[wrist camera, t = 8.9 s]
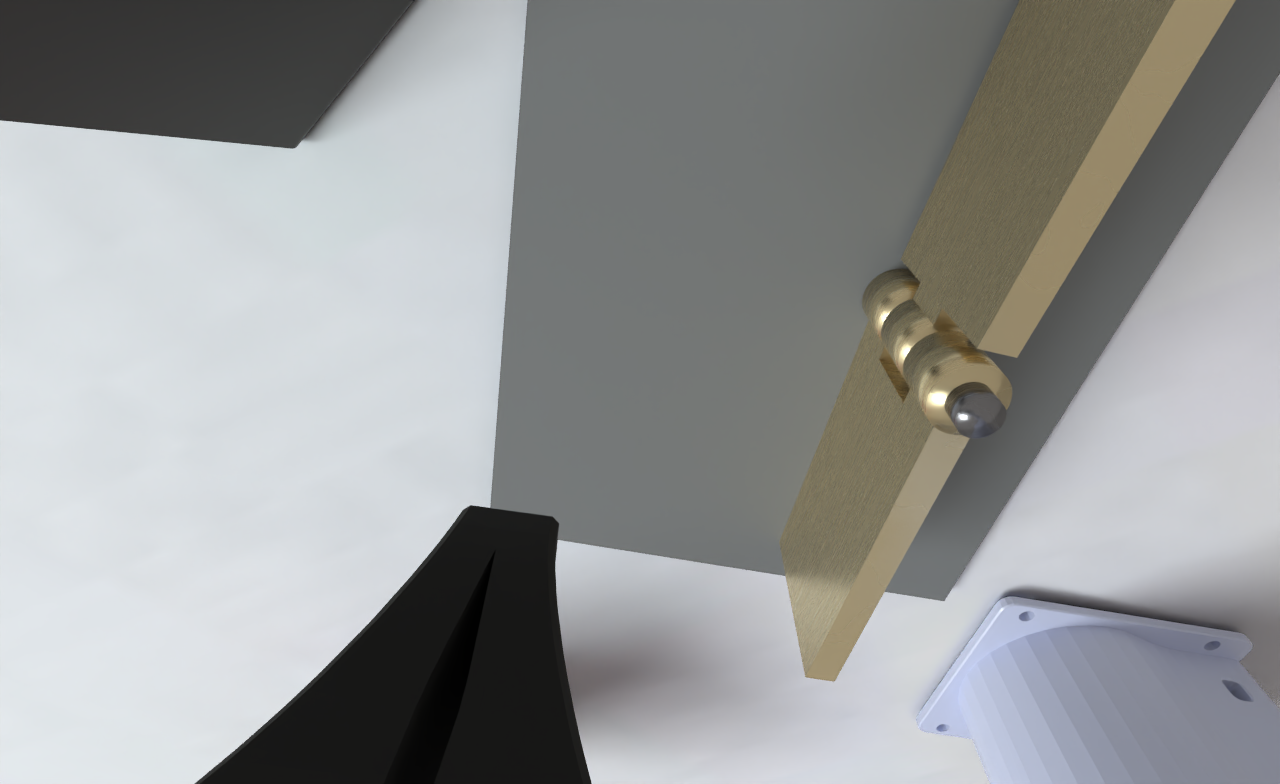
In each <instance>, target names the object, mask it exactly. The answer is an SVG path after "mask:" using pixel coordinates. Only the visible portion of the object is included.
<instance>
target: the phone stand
mask: <svg viewBox="0 0 1280 784" xmlns="http://www.w3.org/2000/svg"><path fill="white" fill-rule="evenodd" d="M413 1H414V0H0V120H3V121H13V122H24V123H34V124H44V125H55V126H65V127H75V128H86V129H96V130H107V131H117V132H127V133H138V134H148V135H158V136H169V137H179V138H189V139H200V140H210V141H220V142H231V143H241V144H251V145H262V146H272V147H283V148H296V147H297V146H298V144H299V143H300V142H301V141H302V139H303V138H304V137H305V136H306V134H307V133H308V132H309V131H310V129H311V128H312V127H313V126H314V124H315V123H316V122H317V121H318V119H319V118H320V117H321V116H322V114H323V113H324V112H325V111H326V110H327V108H328V107H329V106H330V105H331V103H332V102H333V101H334V100H335V98H336V97H337V96H338V95H339V93H340V92H341V91H342V90H343V88H344V87H345V86H346V85H347V83H348V82H349V81H350V80H351V78H352V77H353V76H354V75H355V73H356V72H357V71H358V70H359V68H360V67H361V66H362V65H363V63H364V62H365V61H366V60H367V58H368V57H369V56H370V55H371V53H372V52H373V51H374V50H375V48H376V47H377V46H378V45H379V43H380V42H381V41H382V40H383V38H384V37H385V36H386V35H387V33H388V32H389V31H390V30H391V28H392V27H393V26H394V25H395V23H396V22H397V21H398V20H399V18H400V17H401V16H402V15H403V13H404V12H405V11H406V10H407V8H408V7H409V6H410V5H411V3H412V2H413Z"/></svg>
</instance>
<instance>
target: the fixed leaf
mask: <svg viewBox="0 0 1280 784" xmlns="http://www.w3.org/2000/svg"><path fill="white" fill-rule="evenodd" d="M920 283H921V282H920V281H919V280H918V279H917V278H916V277H915V275H914V274H913V273H912V272H911V271H910V270H906V269H893V270H889V271H886V272H884V273H882V274H880V275H878V276H877V277H876V278H874V279H873V280H872V281H871V282H870V283H869V285H868V286H867V288H866V289H865V292H864V294H863V298H862V307H863V311H864V313H865V315H866V316H867V318H868V320H869V321H868V323H867V326H866V328H865V331H864V333H863V336H862V338H861V341H860V343H859V346H858V348H857V351H856V353H855V356H854V358H853V361H852V363H851V365H850V368H849V370H848V373H847V375H846V378H845V380H844V383H843V385H842V388H841V390H840V393H839V395H838V398H837V400H836V403H835V405H834V407H833V410H832V412H831V415H830V417H829V420H828V422H827V425H826V427H825V430H824V432H823V435H822V437H821V440H820V442H819V445H818V447H817V449H816V452H815V454H814V457H813V459H812V462H811V464H810V467H809V469H808V472H807V474H806V477H805V479H804V482H803V484H802V487H801V489H800V491H799V494H798V496H797V499H796V501H795V504H794V506H793V509H792V511H791V514H790V516H789V519H788V521H787V524H786V526H785V529H784V531H783V533H782V536H781V538H780V541H779V544H780V549H781V554H782V559H783V565H784V570H785V575H786V580H787V585H788V590H789V595H790V600H791V606H792V611H793V616H794V621H795V626H796V631H797V636H798V641H799V647H800V652H801V657H802V662H803V667H804V672H805V677H807V678H814V679H821V680H827V681H835V680H836V678H837V676H838V674H839V672H840V671H841V669H842V667H843V665H844V663H845V662H846V660H847V658H848V656H849V654H850V653H851V651H852V649H853V647H854V645H855V644H856V642H857V640H858V638H859V636H860V635H861V633H862V631H863V629H864V627H865V626H866V624H867V622H868V620H869V618H870V617H871V615H872V613H873V611H874V609H875V608H876V606H877V604H878V602H879V600H880V599H881V597H882V595H883V593H884V592H885V590H886V588H887V586H888V584H889V583H890V581H891V579H892V577H893V575H894V574H895V572H896V570H897V568H898V566H899V565H900V563H901V561H902V559H903V557H904V556H905V554H906V552H907V550H908V548H909V547H910V545H911V543H912V541H913V539H914V538H915V536H916V534H917V532H918V530H919V529H920V527H921V525H922V523H923V521H924V520H925V518H926V516H927V514H928V512H929V511H930V509H931V507H932V505H933V503H934V502H935V500H936V498H937V496H938V494H939V493H940V491H941V489H942V487H943V485H944V484H945V482H946V480H947V478H948V476H949V475H950V473H951V471H952V469H953V467H954V466H955V464H956V462H957V460H958V458H959V457H960V455H961V453H962V451H963V449H964V448H965V446H966V444H967V442H968V440H969V439H970V438H973V439H977V438H983V437H987V436H989V435H991V434H993V433H995V432H996V431H997V430H999V429H1000V428H1001V426H1002V425H1003V424H1004V422H1005V420H1006V416H1007V412H1006V410H1007V409H1008V407H1009V405H1010V402H1011V399H1012V386H1011V384H1010V381H1009V380H1008V378H1007V377H1006V376H1005V375H1004V373H1003V372H1002V371H1001V370H1000V369H999V368H998V367H997V365H996V364H995V363H994V362H993V361H992V360H991V358H990V357H989V356H988V355H987V354H986V353H985V352H984V350H981V349H977V348H976V347H975V346H974V345H973V343H972V342H971V341H970V340H969V339H968V338H967V336H966V335H965V334H964V333H963V332H960V331H954V330H946V331H940V332H936V333H933V334H930V335H928V336H926V337H924V338H923V339H921V340H920V341H918V342H917V343H916V344H915V345H914V346H913V347H912V348H911V349H910V351H909V352H908V354H907V355H906V357H905V360H904V363H903V376H904V378H903V376H902V375H901V373H900V371H899V370H898V368H897V366H896V365H895V363H894V361H893V360H892V358H891V356H890V355H889V353H888V351H887V350H886V348H885V346H884V345H883V342H882V339H881V329H882V325H883V322H884V320H885V319H886V317H887V316H888V314H889V313H890V312H891V311H892V310H893V309H894V308H895V307H896V306H898V305H899V304H901V303H903V302H905V301H907V300H910V299H913V297H914V295H915V293H916V291H917V289H918V287H919V285H920Z"/></svg>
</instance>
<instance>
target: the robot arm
mask: <svg viewBox="0 0 1280 784" xmlns="http://www.w3.org/2000/svg"><path fill="white" fill-rule="evenodd" d="M558 531H559V523H558V522H557V521H556V519H555V518H554V517H553V516H546V515H538V514H531V513H524V512H516V511H509V510H501V509H494V508H486V507H479V506H472V505H471V506H469V507H467V508H466V509H464V510H463V511H462V512H461V514H460V515H459V517H458V518H457V519H456V521H455V522H454V523H453V525H452V526H451V527H450V529H449V530H448V531H447V533H446V534H445V535H444V537H443V538H442V539H441V541H440V542H439V543H438V544H437V546H436V547H435V548H434V549H433V551H432V552H431V553H430V554H429V555H428V557H427V558H426V559H425V560H424V561H423V563H422V564H421V565H420V566H419V567H418V569H417V570H416V571H415V572H414V573H413V575H412V576H411V577H410V578H409V579H408V580H407V582H406V583H405V584H404V585H403V586H402V587H401V588H400V589H399V590H398V592H397V593H396V594H395V595H394V596H393V597H392V598H391V599H390V601H389V602H388V603H387V604H386V605H385V606H384V607H383V608H382V610H381V611H380V612H379V613H378V614H377V615H376V616H375V617H374V618H373V619H372V620H371V622H370V623H369V624H368V625H367V626H366V627H365V628H364V629H363V630H362V631H361V632H360V633H359V634H358V635H357V636H356V637H355V638H354V639H353V640H352V641H351V642H350V643H349V644H348V645H347V646H346V647H345V648H344V649H343V650H342V651H341V652H340V653H339V654H338V655H337V656H336V657H335V658H334V659H333V660H332V661H331V662H330V663H329V664H328V665H327V666H326V667H325V668H324V669H323V670H322V671H321V672H320V673H319V674H318V675H317V676H316V677H315V678H314V679H313V680H312V681H311V682H310V683H309V684H308V685H307V686H306V687H305V688H304V689H303V690H302V691H301V692H300V693H298V694H297V695H296V696H295V697H294V698H293V699H292V700H291V701H290V702H289V703H288V704H287V705H286V706H284V707H283V708H282V709H281V710H280V711H279V712H278V713H277V714H276V715H275V716H273V717H272V718H271V719H270V720H269V721H268V722H267V723H266V724H264V725H263V726H262V727H261V728H260V729H259V730H258V731H257V732H255V733H254V734H253V735H252V736H251V737H250V738H249V739H248V740H246V741H245V742H244V743H243V744H242V745H241V746H239V747H238V748H237V749H236V750H235V751H234V752H232V753H231V754H230V755H229V756H228V757H226V758H225V759H224V760H223V761H222V762H220V763H219V764H218V765H217V766H216V767H214V768H213V769H212V770H211V771H209V772H208V773H207V774H206V775H205V776H203V777H202V778H201V779H200V780H199V781H197V782H196V783H195V784H591V780H590V776H589V772H588V768H587V764H586V760H585V757H584V753H583V748H582V744H581V740H580V736H579V731H578V727H577V722H576V718H575V713H574V708H573V703H572V698H571V693H570V688H569V683H568V678H567V672H566V666H565V660H564V654H563V647H562V639H561V631H560V624H559V616H558V607H557V596H556V577H555V560H556V550H557V540H558ZM1252 648H1253V643H1252V642H1251V641H1250V640H1249V639H1248V638H1247V637H1246V635H1245V634H1242V633H1238V632H1232V631H1226V630H1219V629H1213V628H1207V627H1201V626H1195V625H1188V624H1182V623H1176V622H1170V621H1163V620H1157V619H1151V618H1145V617H1138V616H1132V615H1126V614H1120V613H1114V612H1107V611H1101V610H1095V609H1089V608H1082V607H1076V606H1070V605H1064V604H1057V603H1051V602H1045V601H1039V600H1032V599H1026V598H1020V597H1005V598H1002V599H1000V600H999V601H998V602H997V603H996V604H995V605H994V607H993V608H992V610H991V611H990V612H989V614H988V615H987V617H986V618H985V620H984V621H983V622H982V624H981V625H980V627H979V628H978V630H977V631H976V632H975V634H974V635H973V637H972V638H971V640H970V641H969V642H968V644H967V645H966V647H965V648H964V650H963V651H962V652H961V654H960V655H959V657H958V658H957V660H956V661H955V662H954V664H953V665H952V667H951V668H950V670H949V671H948V672H947V674H946V675H945V677H944V678H943V680H942V681H941V682H940V684H939V685H938V687H937V688H936V690H935V691H934V692H933V694H932V695H931V697H930V698H929V700H928V701H927V702H926V704H925V705H924V707H923V708H922V710H921V711H920V712H919V714H918V715H917V717H916V721H917V724H918V727H919V729H920V730H922V731H924V732H928V733H934V734H941V735H948V736H955V737H962V738H969V739H972V740H973V743H974V745H975V748H976V750H977V753H978V755H979V757H980V760H981V762H982V765H983V767H984V770H985V772H986V775H987V777H988V780H989V782H990V784H1280V709H1279V708H1278V707H1277V706H1276V705H1275V703H1274V702H1273V701H1272V700H1271V699H1270V697H1269V696H1268V695H1267V694H1266V693H1265V692H1264V690H1263V689H1262V688H1261V687H1260V686H1259V684H1258V683H1257V682H1256V681H1255V680H1254V679H1253V677H1252V676H1251V675H1250V674H1249V673H1248V671H1247V670H1246V669H1245V668H1244V667H1243V666H1242V664H1241V663H1240V662H1239V661H1241V660H1242V659H1243V658H1244V657H1245V656H1246V655H1247V654H1248V653H1249V652H1250V651H1251V650H1252Z"/></svg>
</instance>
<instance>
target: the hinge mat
mask: <svg viewBox="0 0 1280 784" xmlns="http://www.w3.org/2000/svg"><path fill="white" fill-rule="evenodd" d="M1018 3H1019V0H528V3H527V16H526V30H525V44H524V57H523V71H522V84H521V98H520V112H519V125H518V139H517V153H516V166H515V180H514V194H513V207H512V221H511V234H510V248H509V262H508V275H507V289H506V303H505V316H504V330H503V343H502V357H501V371H500V384H499V398H498V412H497V425H496V439H495V452H494V466H493V480H492V493H491V507H490V508H494V509H501V510H509V511H516V512H524V513H531V514H538V515H546V516H553V517H554V518H555V519H556V521H557V522H558V523H559V531H558V540H563V541H569V542H575V543H582V544H588V545H594V546H601V547H607V548H613V549H619V550H626V551H632V552H638V553H645V554H651V555H657V556H664V557H670V558H676V559H682V560H689V561H695V562H701V563H708V564H714V565H720V566H726V567H733V568H739V569H745V570H752V571H758V572H764V573H770V574H777V575H783V576H786V575H785V570H784V565H783V559H782V554H781V549H780V544H779V541H780V538H781V536H782V533H783V531H784V529H785V526H786V524H787V521H788V519H789V516H790V514H791V511H792V509H793V506H794V504H795V501H796V499H797V496H798V494H799V491H800V489H801V487H802V484H803V482H804V479H805V477H806V474H807V472H808V469H809V467H810V464H811V462H812V459H813V457H814V454H815V452H816V449H817V447H818V445H819V442H820V440H821V437H822V435H823V432H824V430H825V427H826V425H827V422H828V420H829V417H830V415H831V412H832V410H833V407H834V405H835V403H836V400H837V398H838V395H839V393H840V390H841V388H842V385H843V383H844V380H845V378H846V375H847V373H848V370H849V368H850V365H851V363H852V361H853V358H854V356H855V353H856V351H857V348H858V346H859V343H860V341H861V338H862V336H863V333H864V331H865V328H866V326H867V323H868V321H869V320H868V318H867V316H866V315H865V313H864V311H863V307H862V298H863V294H864V292H865V289H866V288H867V286H868V285H869V283H870V282H871V281H872V280H873V279H874V278H876V277H877V276H878V275H880V274H882V273H884V272H886V271H889V270H893V269H906V270H909V268H908V267H907V266H906V265H905V264H904V263H903V261H902V260H901V258H902V255H903V253H904V251H905V249H906V247H907V245H908V242H909V240H910V238H911V236H912V234H913V231H914V229H915V227H916V225H917V223H918V221H919V218H920V216H921V214H922V212H923V210H924V208H925V205H926V203H927V201H928V199H929V197H930V194H931V192H932V190H933V188H934V186H935V184H936V181H937V179H938V177H939V175H940V173H941V170H942V168H943V166H944V164H945V162H946V160H947V157H948V155H949V153H950V151H951V149H952V146H953V144H954V142H955V140H956V138H957V136H958V133H959V131H960V129H961V127H962V125H963V123H964V120H965V118H966V116H967V114H968V112H969V109H970V107H971V105H972V103H973V101H974V99H975V96H976V94H977V92H978V90H979V88H980V85H981V83H982V81H983V79H984V77H985V75H986V72H987V70H988V68H989V66H990V64H991V61H992V59H993V57H994V55H995V53H996V51H997V48H998V46H999V44H1000V42H1001V40H1002V38H1003V35H1004V33H1005V31H1006V29H1007V27H1008V24H1009V22H1010V20H1011V18H1012V16H1013V14H1014V11H1015V9H1016V7H1017V5H1018ZM1279 73H1280V0H1236V1H1235V2H1234V4H1233V6H1232V7H1231V9H1230V10H1229V12H1228V14H1227V15H1226V17H1225V19H1224V20H1223V22H1222V24H1221V25H1220V27H1219V28H1218V30H1217V32H1216V33H1215V35H1214V37H1213V38H1212V40H1211V41H1210V43H1209V45H1208V46H1207V48H1206V50H1205V51H1204V53H1203V55H1202V56H1201V58H1200V59H1199V61H1198V63H1197V64H1196V66H1195V68H1194V69H1193V71H1192V73H1191V74H1190V76H1189V77H1188V79H1187V81H1186V82H1185V84H1184V86H1183V87H1182V89H1181V91H1180V92H1179V94H1178V95H1177V97H1176V99H1175V100H1174V102H1173V104H1172V105H1171V107H1170V109H1169V110H1168V112H1167V113H1166V115H1165V117H1164V118H1163V120H1162V122H1161V123H1160V125H1159V127H1158V128H1157V130H1156V131H1155V133H1154V135H1153V136H1152V138H1151V140H1150V141H1149V143H1148V145H1147V146H1146V148H1145V149H1144V151H1143V153H1142V154H1141V156H1140V158H1139V159H1138V161H1137V163H1136V164H1135V166H1134V167H1133V169H1132V171H1131V172H1130V174H1129V176H1128V177H1127V179H1126V181H1125V182H1124V184H1123V185H1122V187H1121V189H1120V190H1119V192H1118V194H1117V195H1116V197H1115V198H1114V200H1113V202H1112V203H1111V205H1110V207H1109V208H1108V210H1107V212H1106V213H1105V215H1104V216H1103V218H1102V220H1101V221H1100V223H1099V225H1098V226H1097V228H1096V230H1095V231H1094V233H1093V234H1092V236H1091V238H1090V239H1089V241H1088V243H1087V244H1086V246H1085V248H1084V249H1083V251H1082V252H1081V254H1080V256H1079V257H1078V259H1077V261H1076V262H1075V264H1074V266H1073V267H1072V269H1071V270H1070V272H1069V274H1068V275H1067V277H1066V279H1065V280H1064V282H1063V284H1062V285H1061V287H1060V288H1059V290H1058V292H1057V293H1056V295H1055V297H1054V298H1053V300H1052V302H1051V303H1050V305H1049V306H1048V308H1047V310H1046V311H1045V313H1044V315H1043V316H1042V318H1041V320H1040V321H1039V323H1038V324H1037V326H1036V328H1035V329H1034V331H1033V333H1032V334H1031V336H1030V338H1029V339H1028V341H1027V342H1026V344H1025V346H1024V347H1023V349H1022V351H1021V352H1020V354H1019V355H1018V357H1017V358H1016V357H1011V356H1007V355H1003V354H998V353H994V352H989V351H985V350H984V352H985V353H986V354H987V355H988V356H989V357H990V358H991V360H992V361H993V362H994V363H995V364H996V365H997V367H998V368H999V369H1000V370H1001V371H1002V372H1003V373H1004V375H1005V376H1006V377H1007V378H1008V380H1009V381H1010V384H1011V386H1012V399H1011V402H1010V405H1009V407H1008V409H1007V410H1006V412H1007V416H1006V420H1005V422H1004V424H1003V425H1002V426H1001V428H1000V429H999V430H997V431H996V432H995V433H993V434H991V435H989V436H987V437H983V438H977V439H973V438H970V439H969V440H968V442H967V444H966V446H965V448H964V449H963V451H962V453H961V455H960V457H959V458H958V460H957V462H956V464H955V466H954V467H953V469H952V471H951V473H950V475H949V476H948V478H947V480H946V482H945V484H944V485H943V487H942V489H941V491H940V493H939V494H938V496H937V498H936V500H935V502H934V503H933V505H932V507H931V509H930V511H929V512H928V514H927V516H926V518H925V520H924V521H923V523H922V525H921V527H920V529H919V530H918V532H917V534H916V536H915V538H914V539H913V541H912V543H911V545H910V547H909V548H908V550H907V552H906V554H905V556H904V557H903V559H902V561H901V563H900V565H899V566H898V568H897V570H896V572H895V574H894V575H893V577H892V579H891V581H890V583H889V584H888V586H887V588H886V590H885V592H890V593H896V594H903V595H909V596H915V597H921V598H928V599H934V600H940V601H945V599H946V597H947V596H948V594H949V593H950V591H951V589H952V588H953V586H954V585H955V583H956V582H957V580H958V578H959V577H960V575H961V574H962V572H963V571H964V569H965V567H966V566H967V564H968V563H969V561H970V560H971V558H972V556H973V555H974V553H975V552H976V550H977V549H978V547H979V545H980V544H981V542H982V541H983V539H984V538H985V536H986V534H987V533H988V531H989V530H990V528H991V527H992V525H993V523H994V522H995V520H996V519H997V517H998V516H999V514H1000V512H1001V511H1002V509H1003V508H1004V506H1005V504H1006V503H1007V501H1008V500H1009V498H1010V497H1011V495H1012V493H1013V492H1014V490H1015V489H1016V487H1017V486H1018V484H1019V482H1020V481H1021V479H1022V478H1023V476H1024V475H1025V473H1026V471H1027V470H1028V468H1029V467H1030V465H1031V464H1032V462H1033V460H1034V459H1035V457H1036V456H1037V454H1038V453H1039V451H1040V449H1041V448H1042V446H1043V445H1044V443H1045V442H1046V440H1047V438H1048V437H1049V435H1050V434H1051V432H1052V431H1053V429H1054V427H1055V426H1056V424H1057V423H1058V421H1059V419H1060V418H1061V416H1062V415H1063V413H1064V412H1065V410H1066V408H1067V407H1068V405H1069V404H1070V402H1071V401H1072V399H1073V397H1074V396H1075V394H1076V393H1077V391H1078V390H1079V388H1080V386H1081V385H1082V383H1083V382H1084V380H1085V379H1086V377H1087V375H1088V374H1089V372H1090V371H1091V369H1092V368H1093V366H1094V364H1095V363H1096V361H1097V360H1098V358H1099V357H1100V355H1101V353H1102V352H1103V350H1104V349H1105V347H1106V346H1107V344H1108V342H1109V341H1110V339H1111V338H1112V336H1113V334H1114V333H1115V331H1116V330H1117V328H1118V327H1119V325H1120V323H1121V322H1122V320H1123V319H1124V317H1125V316H1126V314H1127V312H1128V311H1129V309H1130V308H1131V306H1132V305H1133V303H1134V301H1135V300H1136V298H1137V297H1138V295H1139V294H1140V292H1141V290H1142V289H1143V287H1144V286H1145V284H1146V283H1147V281H1148V279H1149V278H1150V276H1151V275H1152V273H1153V272H1154V270H1155V268H1156V267H1157V265H1158V264H1159V262H1160V261H1161V259H1162V257H1163V256H1164V254H1165V253H1166V251H1167V249H1168V248H1169V246H1170V245H1171V243H1172V242H1173V240H1174V238H1175V237H1176V235H1177V234H1178V232H1179V231H1180V229H1181V227H1182V226H1183V224H1184V223H1185V221H1186V220H1187V218H1188V216H1189V215H1190V213H1191V212H1192V210H1193V209H1194V207H1195V205H1196V204H1197V202H1198V201H1199V199H1200V198H1201V196H1202V194H1203V193H1204V191H1205V190H1206V188H1207V187H1208V185H1209V183H1210V182H1211V180H1212V179H1213V177H1214V175H1215V174H1216V172H1217V171H1218V169H1219V168H1220V166H1221V164H1222V163H1223V161H1224V160H1225V158H1226V157H1227V155H1228V153H1229V152H1230V150H1231V149H1232V147H1233V146H1234V144H1235V142H1236V141H1237V139H1238V138H1239V136H1240V135H1241V133H1242V131H1243V130H1244V128H1245V127H1246V125H1247V124H1248V122H1249V120H1250V119H1251V117H1252V116H1253V114H1254V113H1255V111H1256V109H1257V108H1258V106H1259V105H1260V103H1261V102H1262V100H1263V98H1264V97H1265V95H1266V94H1267V92H1268V90H1269V89H1270V87H1271V86H1272V84H1273V83H1274V81H1275V79H1276V78H1277V76H1278V75H1279Z"/></svg>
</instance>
